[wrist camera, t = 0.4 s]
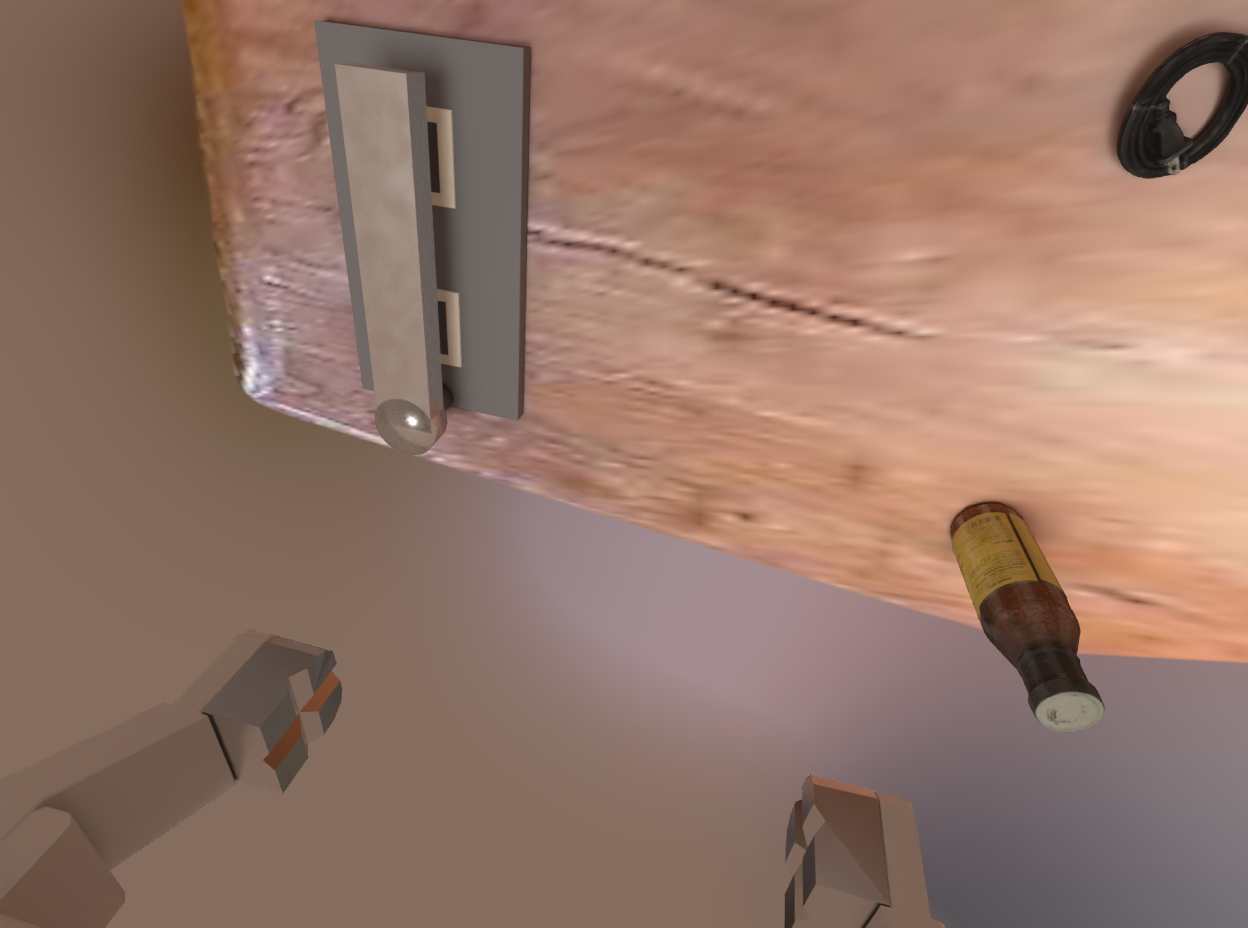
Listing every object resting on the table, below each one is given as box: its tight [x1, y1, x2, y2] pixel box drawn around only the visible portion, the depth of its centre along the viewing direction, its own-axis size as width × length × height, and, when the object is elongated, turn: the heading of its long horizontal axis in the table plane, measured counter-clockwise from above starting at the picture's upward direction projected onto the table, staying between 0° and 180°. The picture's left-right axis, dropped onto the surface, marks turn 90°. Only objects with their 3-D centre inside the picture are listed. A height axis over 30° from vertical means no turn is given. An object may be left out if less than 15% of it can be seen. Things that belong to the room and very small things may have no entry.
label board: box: [314, 20, 531, 420], centre depth 54 cm, size 30×16×5 cm, turn 174°
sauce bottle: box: [950, 503, 1105, 732], centre depth 51 cm, size 7×6×20 cm
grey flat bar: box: [335, 63, 447, 455], centre depth 51 cm, size 30×6×2 cm, turn 174°
